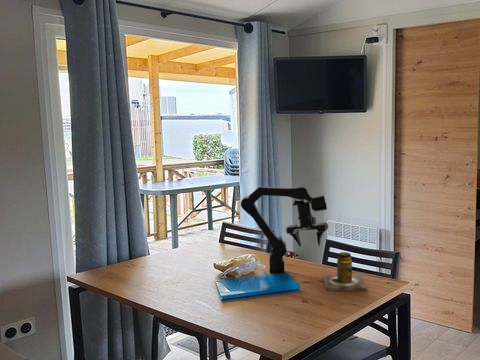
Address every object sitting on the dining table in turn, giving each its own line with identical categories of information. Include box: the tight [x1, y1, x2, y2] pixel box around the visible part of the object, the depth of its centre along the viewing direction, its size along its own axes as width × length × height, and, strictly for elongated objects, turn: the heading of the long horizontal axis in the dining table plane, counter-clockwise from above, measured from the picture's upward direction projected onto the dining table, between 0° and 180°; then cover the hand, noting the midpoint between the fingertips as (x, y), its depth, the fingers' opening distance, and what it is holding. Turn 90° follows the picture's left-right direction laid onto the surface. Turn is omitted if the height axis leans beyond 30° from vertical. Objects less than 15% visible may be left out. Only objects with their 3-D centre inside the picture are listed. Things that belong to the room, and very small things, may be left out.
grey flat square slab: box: [322, 274, 367, 292], centre depth 202 cm, size 16×16×1 cm
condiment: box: [330, 251, 355, 285], centre depth 201 cm, size 7×8×12 cm
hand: (309, 246), depth 221 cm, fingers open, 9 cm apart
